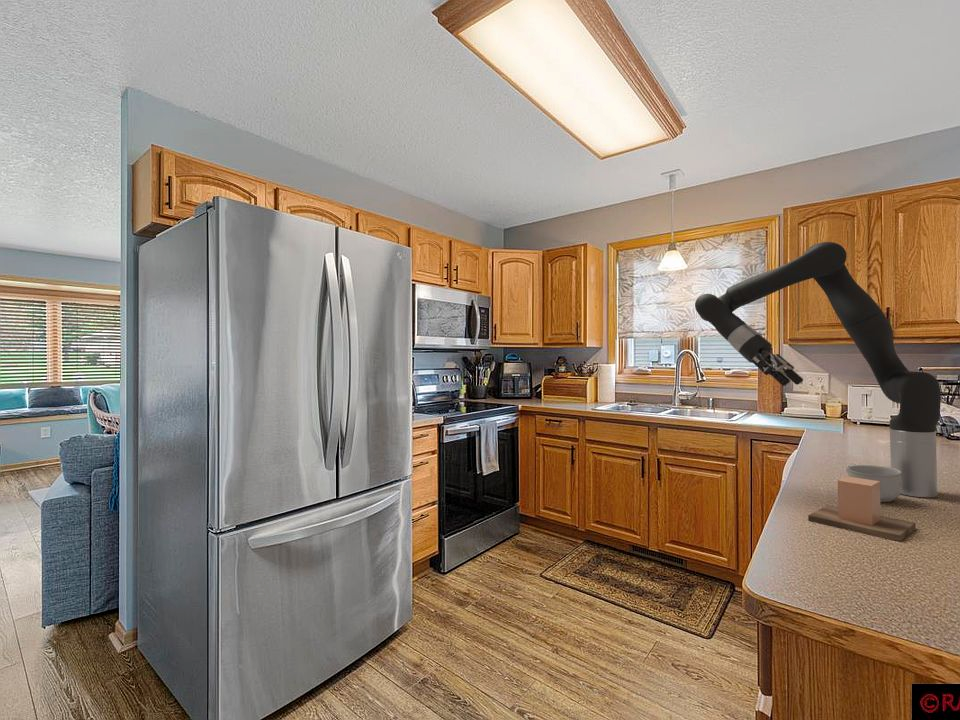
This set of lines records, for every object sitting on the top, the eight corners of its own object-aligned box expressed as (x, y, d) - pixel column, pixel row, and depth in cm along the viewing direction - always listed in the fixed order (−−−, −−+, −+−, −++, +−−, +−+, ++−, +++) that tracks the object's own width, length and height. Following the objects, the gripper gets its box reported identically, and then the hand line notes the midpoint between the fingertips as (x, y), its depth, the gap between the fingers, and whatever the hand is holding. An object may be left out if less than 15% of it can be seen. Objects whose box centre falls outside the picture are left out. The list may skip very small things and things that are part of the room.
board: (827, 510, 114) (827, 505, 114) (915, 528, 101) (915, 522, 101) (808, 520, 107) (808, 515, 107) (899, 541, 94) (899, 535, 94)
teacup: (913, 506, 116) (912, 474, 116) (863, 504, 118) (862, 472, 118) (877, 490, 129) (876, 462, 129) (833, 489, 131) (832, 461, 131)
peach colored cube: (847, 512, 108) (846, 476, 108) (880, 519, 103) (879, 481, 103) (838, 518, 104) (837, 480, 104) (872, 525, 100) (871, 485, 100)
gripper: (746, 333, 129) (794, 374, 120) (769, 334, 138) (815, 372, 128) (727, 352, 134) (772, 393, 124) (751, 352, 142) (794, 391, 133)
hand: (794, 383), depth 126 cm, fingers open, 8 cm apart
